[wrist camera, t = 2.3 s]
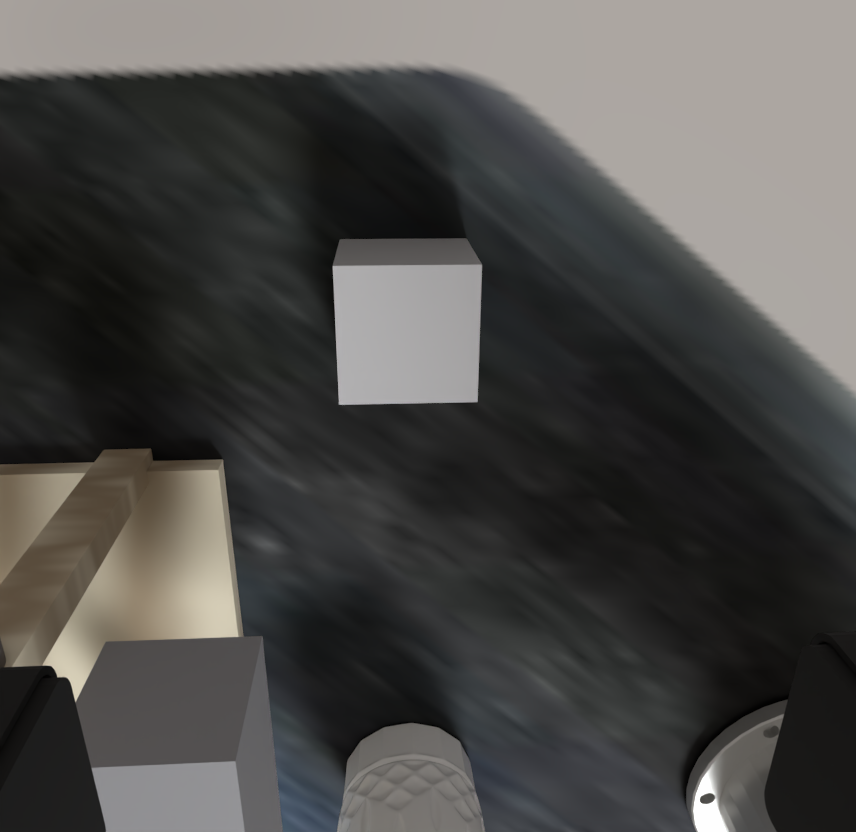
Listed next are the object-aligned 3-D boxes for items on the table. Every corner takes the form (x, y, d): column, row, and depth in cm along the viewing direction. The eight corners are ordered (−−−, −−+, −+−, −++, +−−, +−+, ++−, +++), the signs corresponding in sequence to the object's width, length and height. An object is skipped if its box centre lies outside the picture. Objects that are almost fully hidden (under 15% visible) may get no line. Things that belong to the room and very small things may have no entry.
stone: (466, 237, 30) (481, 264, 25) (463, 357, 32) (477, 401, 27) (339, 238, 30) (332, 265, 25) (344, 359, 32) (338, 404, 27)
